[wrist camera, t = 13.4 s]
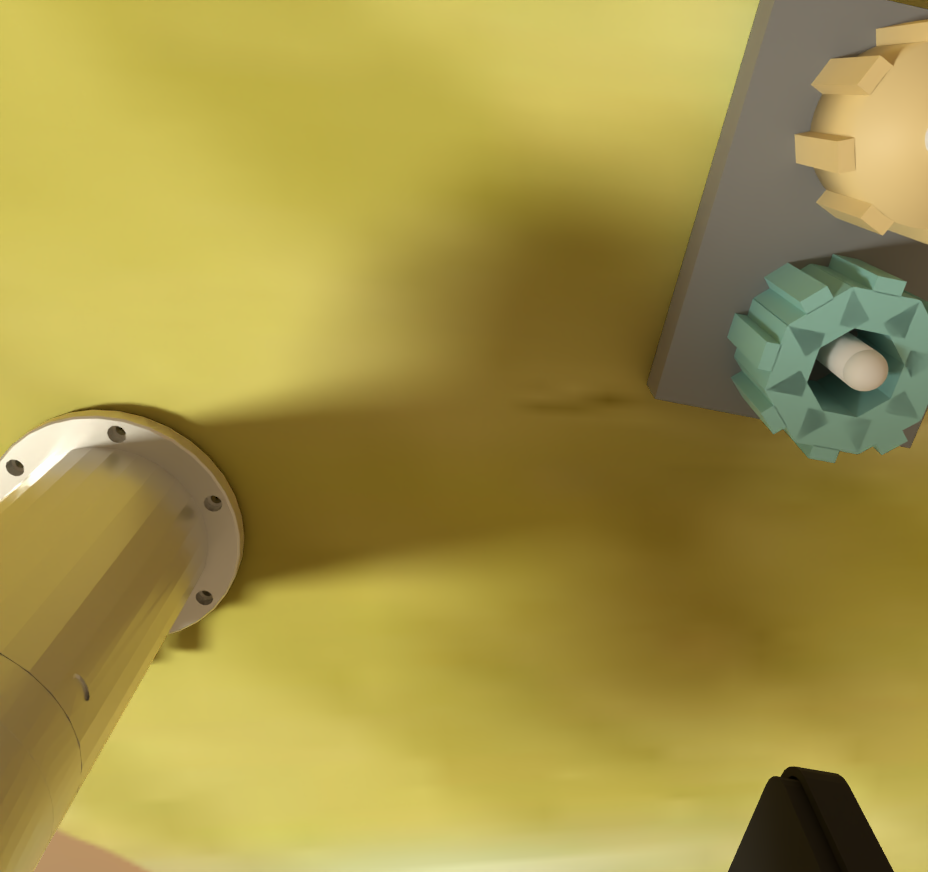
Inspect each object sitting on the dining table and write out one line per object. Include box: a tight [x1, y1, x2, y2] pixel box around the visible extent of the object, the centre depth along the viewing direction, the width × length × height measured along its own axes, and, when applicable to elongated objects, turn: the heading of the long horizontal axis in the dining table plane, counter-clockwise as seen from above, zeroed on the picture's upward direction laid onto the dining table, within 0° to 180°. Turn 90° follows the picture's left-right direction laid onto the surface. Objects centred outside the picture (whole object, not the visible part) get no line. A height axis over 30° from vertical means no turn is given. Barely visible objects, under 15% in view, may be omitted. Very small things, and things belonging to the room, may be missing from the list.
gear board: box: [647, 0, 928, 448], centre depth 33 cm, size 17×12×8 cm
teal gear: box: [727, 254, 928, 463], centre depth 35 cm, size 8×8×4 cm
